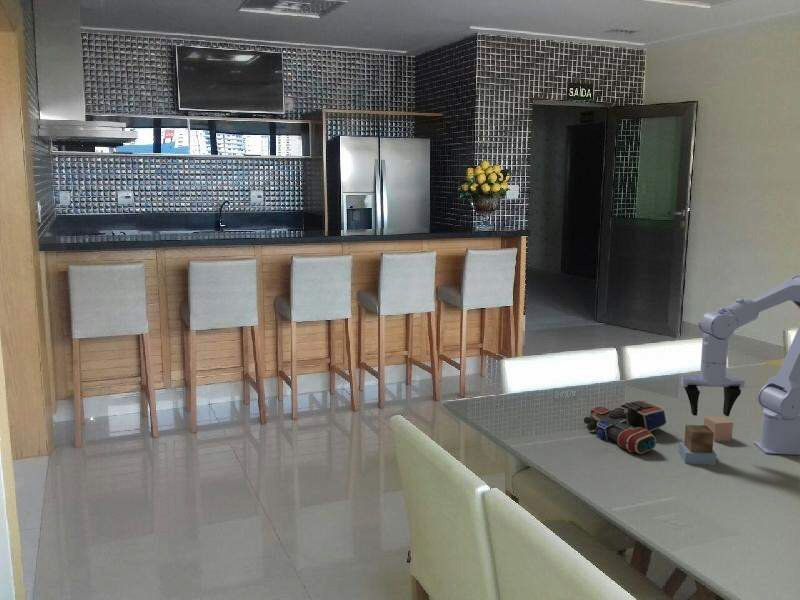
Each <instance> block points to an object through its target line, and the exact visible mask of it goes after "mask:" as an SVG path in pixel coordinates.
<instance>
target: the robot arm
mask: <svg viewBox="0 0 800 600" xmlns="http://www.w3.org/2000/svg"><path fill="white" fill-rule="evenodd" d="M789 301H791V302H792V303H793V304H794V305H795V306H796V307H797V308H798V309H799V310H800V275H799V274H798V275H793V276H792V277H790V278H787V279H784V280H783V281H782V283H781V284H779V285H776V286H775V287H773V288H771V289H770V290H767V291H766V292H764V293H762V294H760V295H758V296H757V297H755V298H753V299H749V298H745V297H744V298H741V297H739V298H737V299H735V302H734V303H732V304H730V305H727V306H725V307H719V308H718V310H717V312H716V311H708V312H706V313H704V314H703V316H702V317H701V318H700V321H699V322H698V326H697V327H698V329H699V331H700V332H701V339H702V343H701V358H700V359H701V360H700V372H699V373H700V375H698V376H697V375H696V376H695V375H694V376H681V377H680V386H681V387H683V388H684V391H685V393H686V395H687V398H688V401H689V406H690V410H691V414H692V415H693V416H695V417H696V416H698V409H699V408H698V404H699V398H700V393H701V391H700V390H699V388H698V387H710V388H711V387H716V388H718V387H719V388H723V408H722V409H723V411H722V414H723V415H724V417H730V414H731V411H732V409H733V406H734V404H735V402H736V401H737V399H738V398H739V397H740V395H741V393H742V389H744V388H745V382H746V381H745V379H743V378H740V377H729V376H728V377H727V376H726V375H727V364H728V363H727V361H728V360H727V359H728V347H729V338H731V336H732V335H733V334H734V332H735V330H737V329H738V328H740V327H743V326H745V325H747V324H749V323H751V322H753V321H755V320H757V319H758V318H759V314H760V313H761V312H763V311H766V310H768V309H771V308H773V307H776V306H778V305H781V304H783V303H784V304H785V303H787V302H789ZM757 402H758V404H759V405H760V406H761V411H762V418H761V419H762V420H761V428H760V429H761V430H760V431H761V432H760V440H753V443H754V444H755V445H756V446H757V447H758V448H759V449H760V450H761V451H763V453H765V454H773V455H774V454H775V455H793V456H794V455H796V456H798V455H799V456H800V325H799V327H798V329H797V330H796V332H795V335H794V338H793V339H792V342H791V344H790V346H789V349H788V351H787V352H786V355H785V357H784V360H783V362H782V365H781V367H780V369H779V371H778V373H777V374H775V375H774V376H771V377H769V378H768V379H767V382H766V383H765V384H764V386H763V387H762V388H761V389H760V390H759V391H758V395H757Z"/></svg>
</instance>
